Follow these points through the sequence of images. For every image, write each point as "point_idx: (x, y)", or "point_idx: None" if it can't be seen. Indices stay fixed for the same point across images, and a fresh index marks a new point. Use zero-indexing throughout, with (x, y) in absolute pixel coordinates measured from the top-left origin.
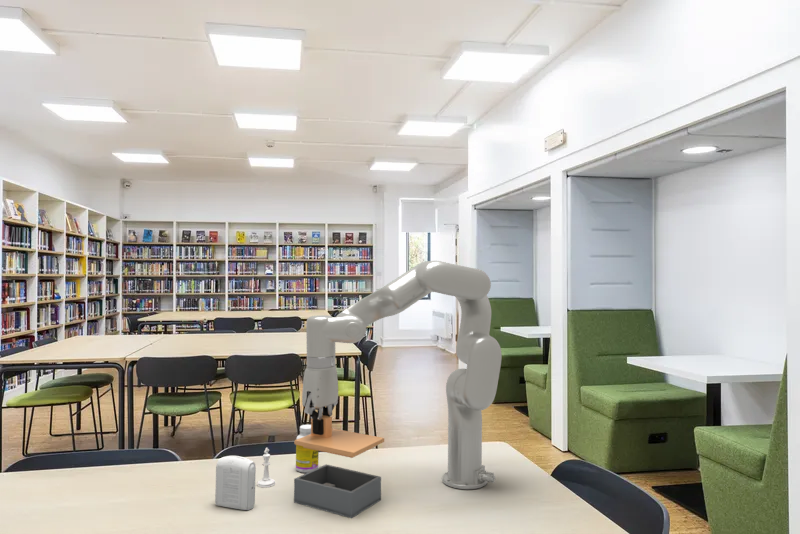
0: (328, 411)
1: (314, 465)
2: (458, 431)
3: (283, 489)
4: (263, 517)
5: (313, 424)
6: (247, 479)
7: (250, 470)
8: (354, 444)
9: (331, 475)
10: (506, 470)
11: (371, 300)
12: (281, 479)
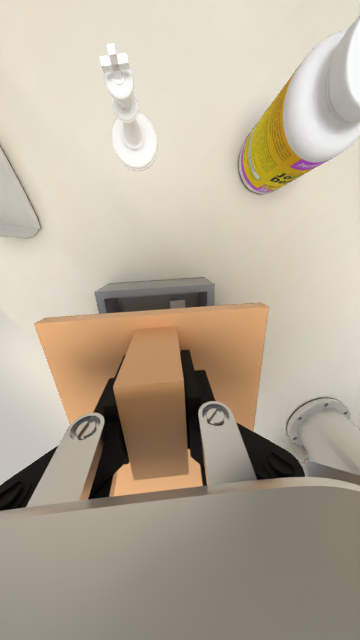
0: (202, 484)
1: (264, 190)
2: None
3: (139, 213)
4: (28, 287)
5: (99, 400)
6: None
7: None
8: (153, 481)
9: (203, 300)
10: None
11: None
12: (180, 155)
